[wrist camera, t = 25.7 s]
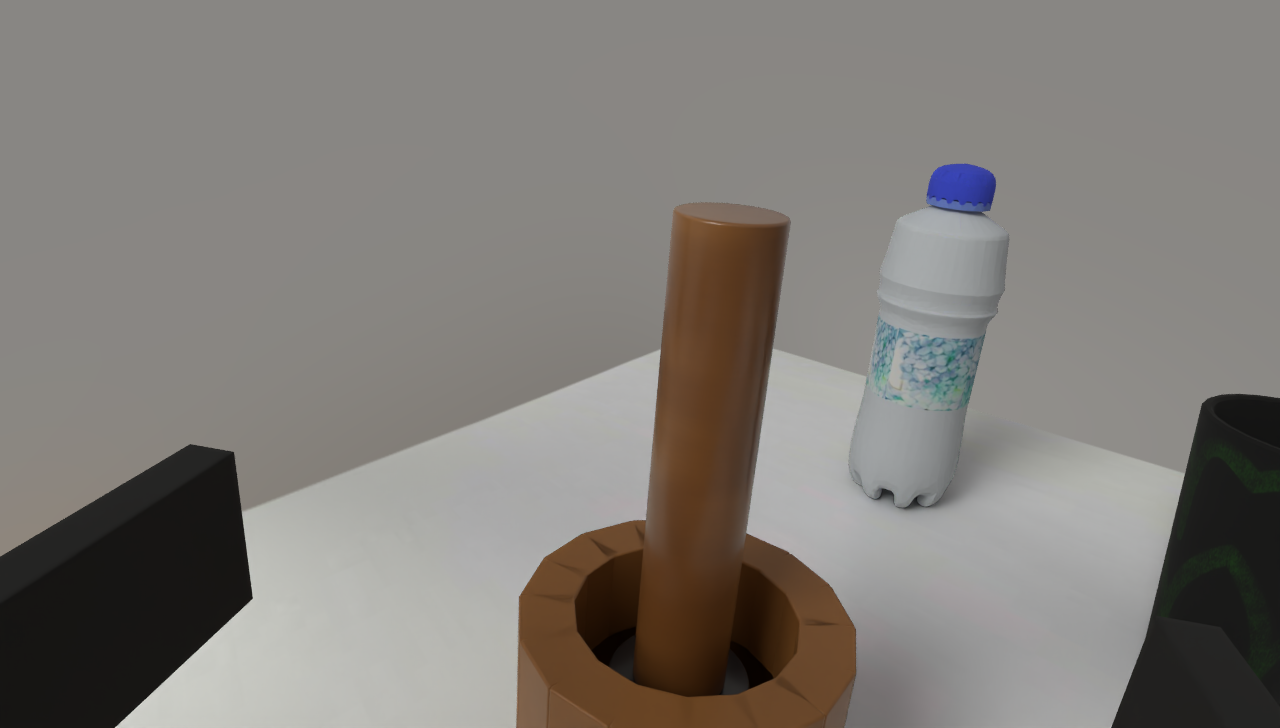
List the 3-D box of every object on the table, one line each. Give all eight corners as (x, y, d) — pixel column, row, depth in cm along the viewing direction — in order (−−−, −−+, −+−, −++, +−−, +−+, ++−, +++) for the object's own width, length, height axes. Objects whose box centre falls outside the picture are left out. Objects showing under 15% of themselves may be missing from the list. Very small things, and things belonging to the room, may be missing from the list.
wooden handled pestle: (600, 922, 22) (657, 227, 15) (589, 798, 26) (630, 192, 19) (736, 908, 23) (852, 236, 16) (706, 790, 27) (789, 201, 19)
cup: (1174, 597, 40) (1257, 384, 36) (1354, 699, 34) (1480, 457, 30) (1085, 638, 37) (1165, 407, 32) (1268, 761, 30) (1397, 495, 26)
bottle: (886, 455, 53) (948, 155, 46) (973, 500, 48) (1059, 172, 41) (818, 477, 49) (875, 155, 42) (905, 529, 44) (986, 174, 37)
